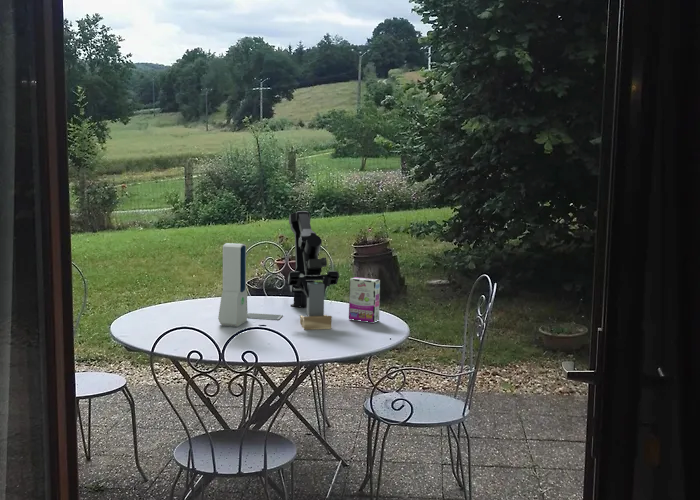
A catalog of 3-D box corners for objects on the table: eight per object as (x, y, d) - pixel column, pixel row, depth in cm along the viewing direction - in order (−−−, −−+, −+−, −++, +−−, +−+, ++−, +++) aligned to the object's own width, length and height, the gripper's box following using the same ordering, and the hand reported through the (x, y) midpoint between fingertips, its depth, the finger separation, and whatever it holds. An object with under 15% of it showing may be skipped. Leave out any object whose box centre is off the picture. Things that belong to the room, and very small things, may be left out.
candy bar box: (379, 321, 289) (381, 279, 286) (374, 323, 284) (375, 281, 282) (354, 317, 294) (355, 276, 292) (348, 320, 289) (349, 278, 287)
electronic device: (236, 327, 273) (237, 246, 269) (217, 326, 274) (217, 245, 270) (248, 320, 285) (248, 242, 281) (229, 318, 287) (229, 241, 282)
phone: (248, 315, 295) (248, 312, 295) (282, 317, 293) (282, 314, 293) (243, 319, 289) (243, 316, 288) (278, 321, 286) (278, 318, 286)
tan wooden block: (300, 323, 282) (300, 311, 282) (326, 322, 284) (326, 310, 284) (304, 329, 273) (304, 317, 272) (331, 328, 275) (331, 316, 274)
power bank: (306, 313, 281) (307, 281, 279) (321, 313, 282) (321, 281, 280) (308, 316, 276) (309, 284, 274) (323, 316, 277) (324, 284, 275)
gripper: (289, 250, 277) (293, 285, 268) (338, 249, 282) (344, 284, 273) (286, 267, 286) (289, 301, 277) (334, 266, 290) (339, 300, 281)
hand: (315, 296), depth 277 cm, fingers closed on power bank, 5 cm apart
